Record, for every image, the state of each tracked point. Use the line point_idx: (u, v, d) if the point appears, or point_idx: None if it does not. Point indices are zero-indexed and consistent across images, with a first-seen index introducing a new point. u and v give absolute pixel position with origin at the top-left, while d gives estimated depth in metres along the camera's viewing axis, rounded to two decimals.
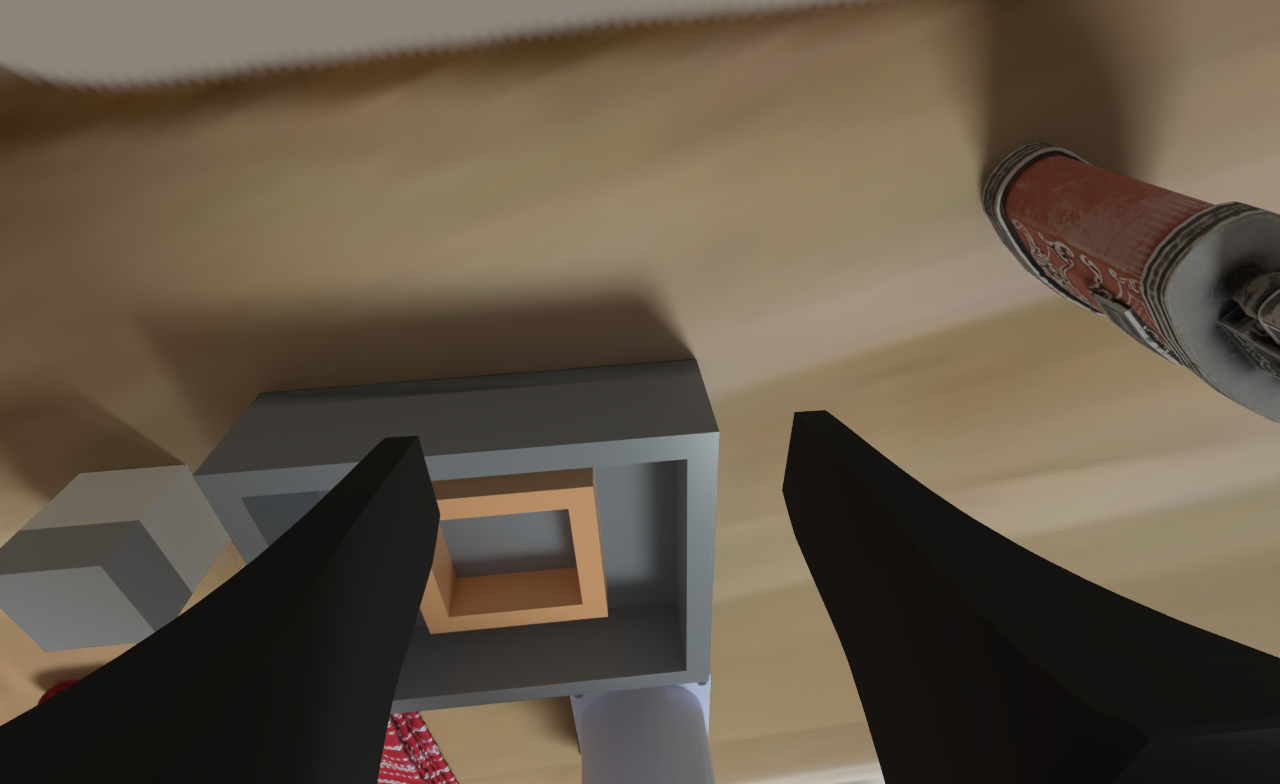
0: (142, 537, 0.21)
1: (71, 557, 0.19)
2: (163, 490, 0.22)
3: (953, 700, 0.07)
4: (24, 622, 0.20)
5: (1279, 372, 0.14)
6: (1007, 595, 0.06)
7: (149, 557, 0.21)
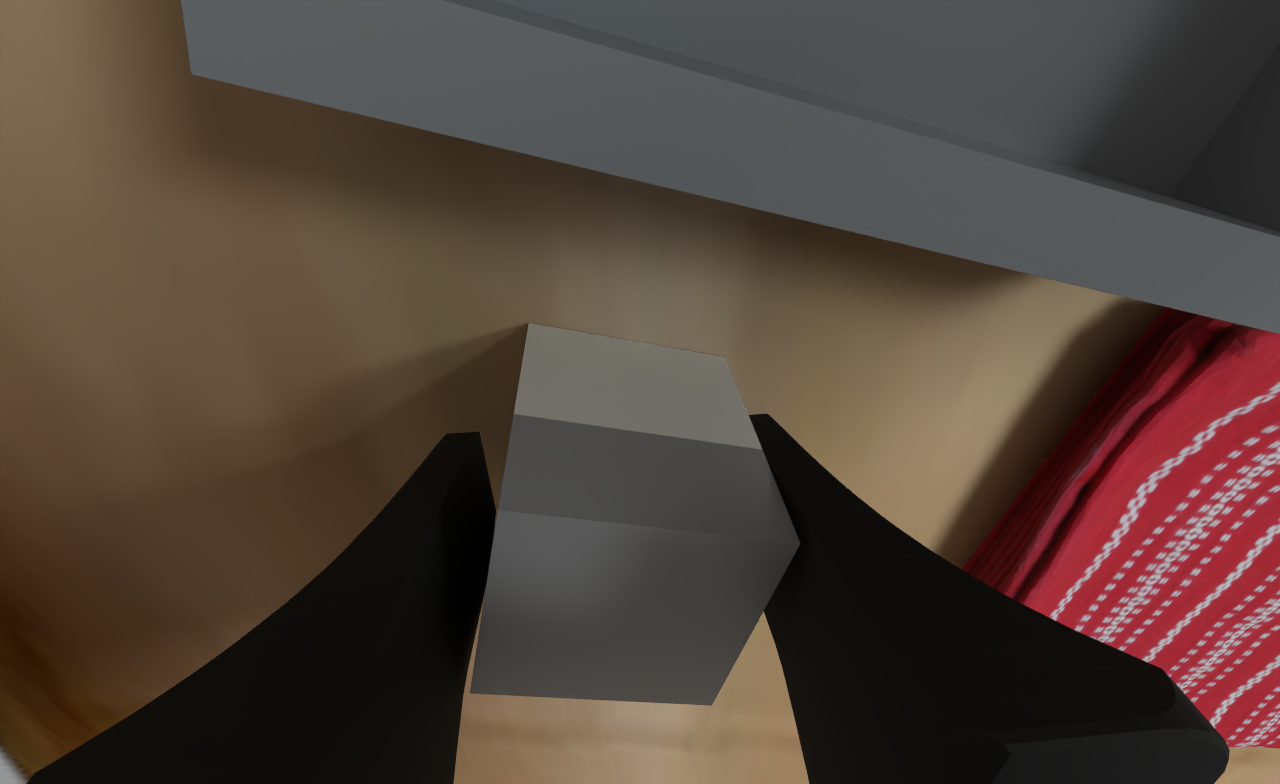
0: (550, 430, 0.09)
1: None
2: (522, 364, 0.10)
3: (858, 709, 0.07)
4: (621, 691, 0.10)
5: None
6: (909, 603, 0.06)
7: (603, 448, 0.09)
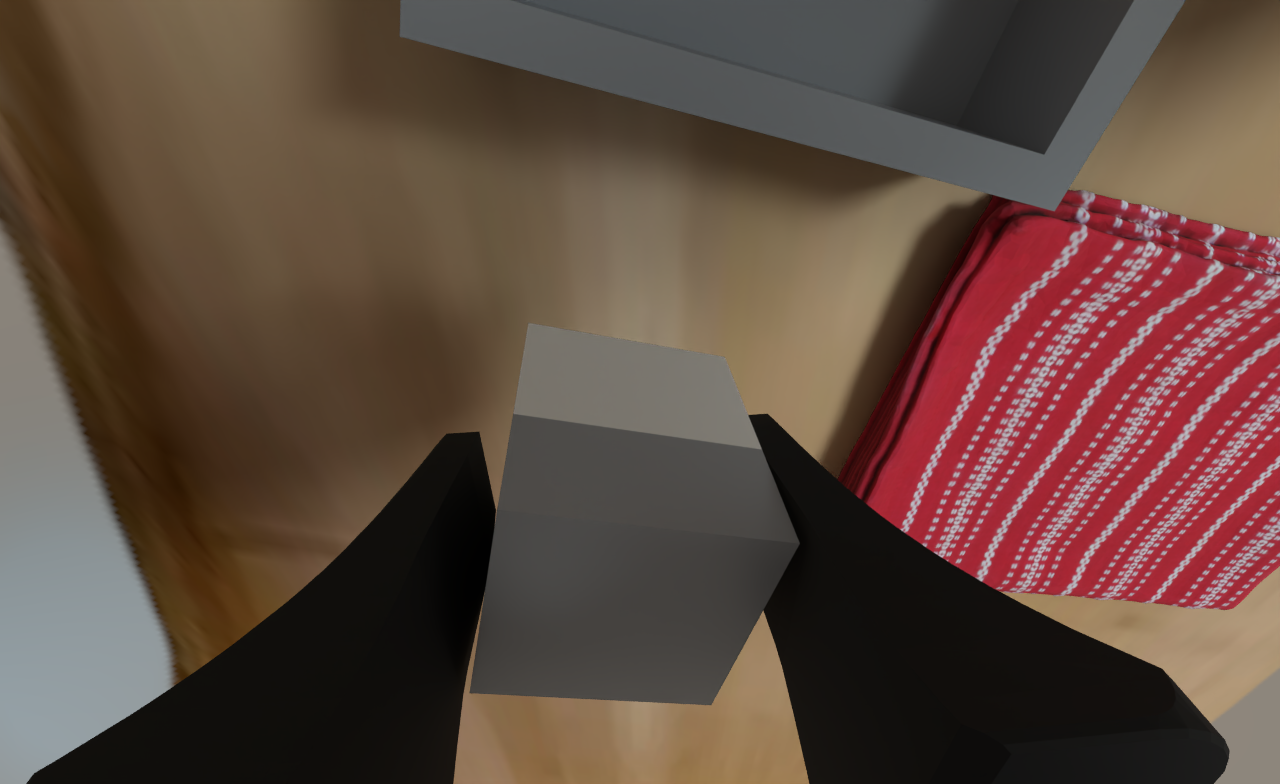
0: (550, 430, 0.09)
1: None
2: (522, 365, 0.10)
3: (858, 709, 0.07)
4: (620, 690, 0.10)
5: None
6: (910, 603, 0.06)
7: (603, 447, 0.09)
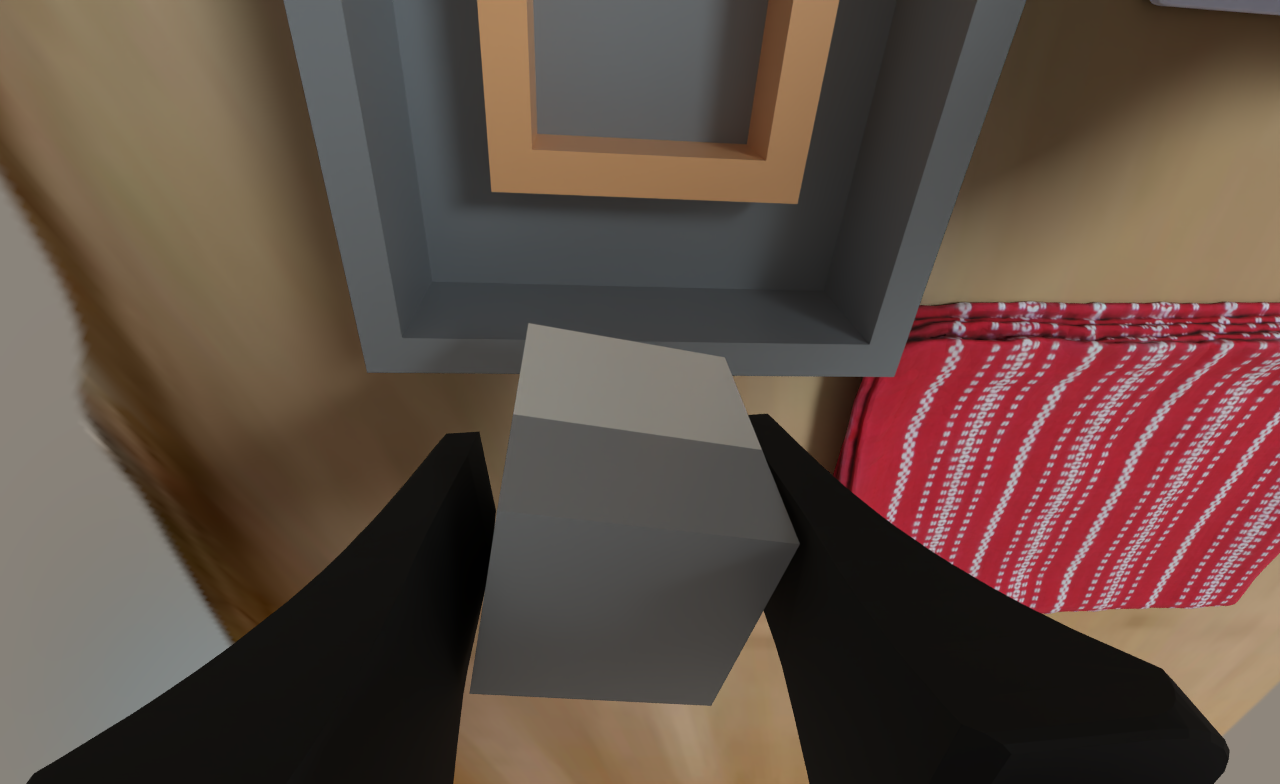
0: (549, 431, 0.09)
1: None
2: (522, 365, 0.10)
3: (858, 709, 0.07)
4: (620, 691, 0.10)
5: None
6: (910, 603, 0.06)
7: (602, 448, 0.09)
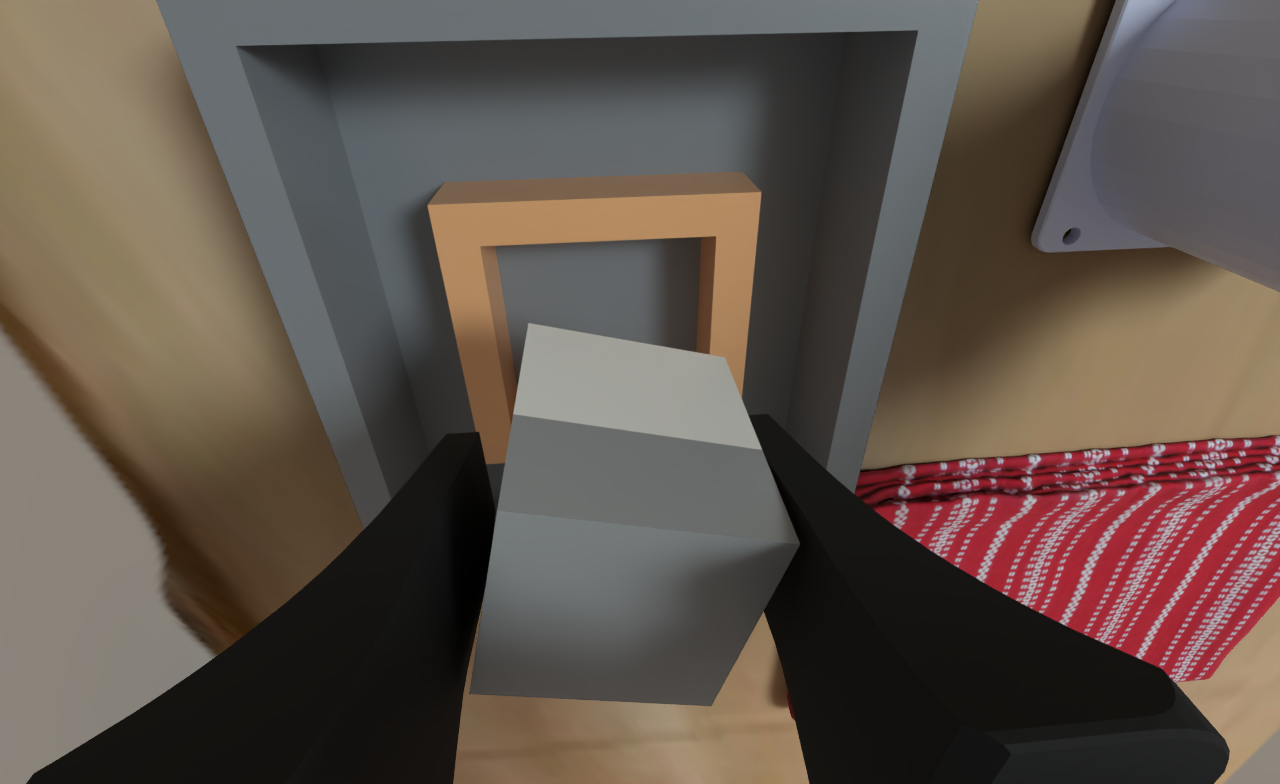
0: (550, 431, 0.09)
1: None
2: (522, 365, 0.10)
3: (858, 709, 0.07)
4: (620, 691, 0.10)
5: None
6: (909, 603, 0.06)
7: (603, 448, 0.09)
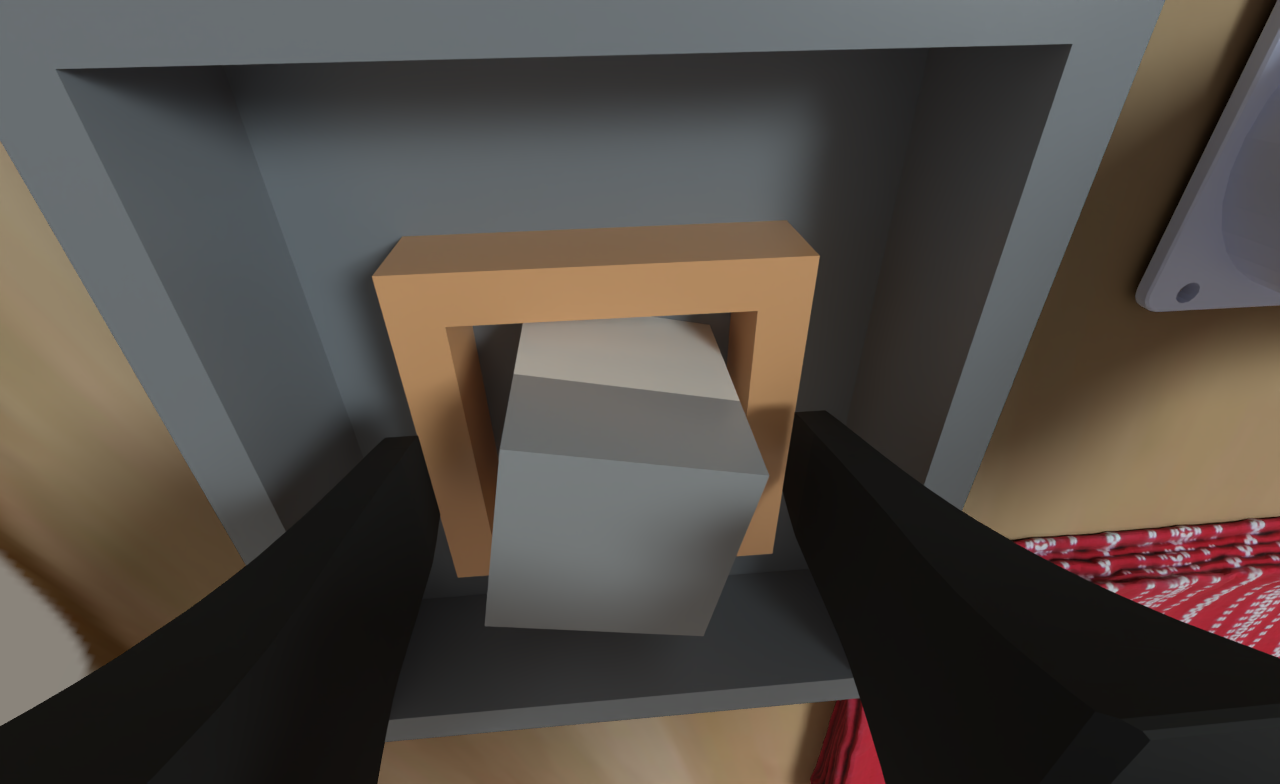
0: (546, 387, 0.10)
1: None
2: (521, 334, 0.11)
3: (953, 700, 0.07)
4: (619, 622, 0.11)
5: None
6: (1007, 595, 0.06)
7: (593, 400, 0.10)
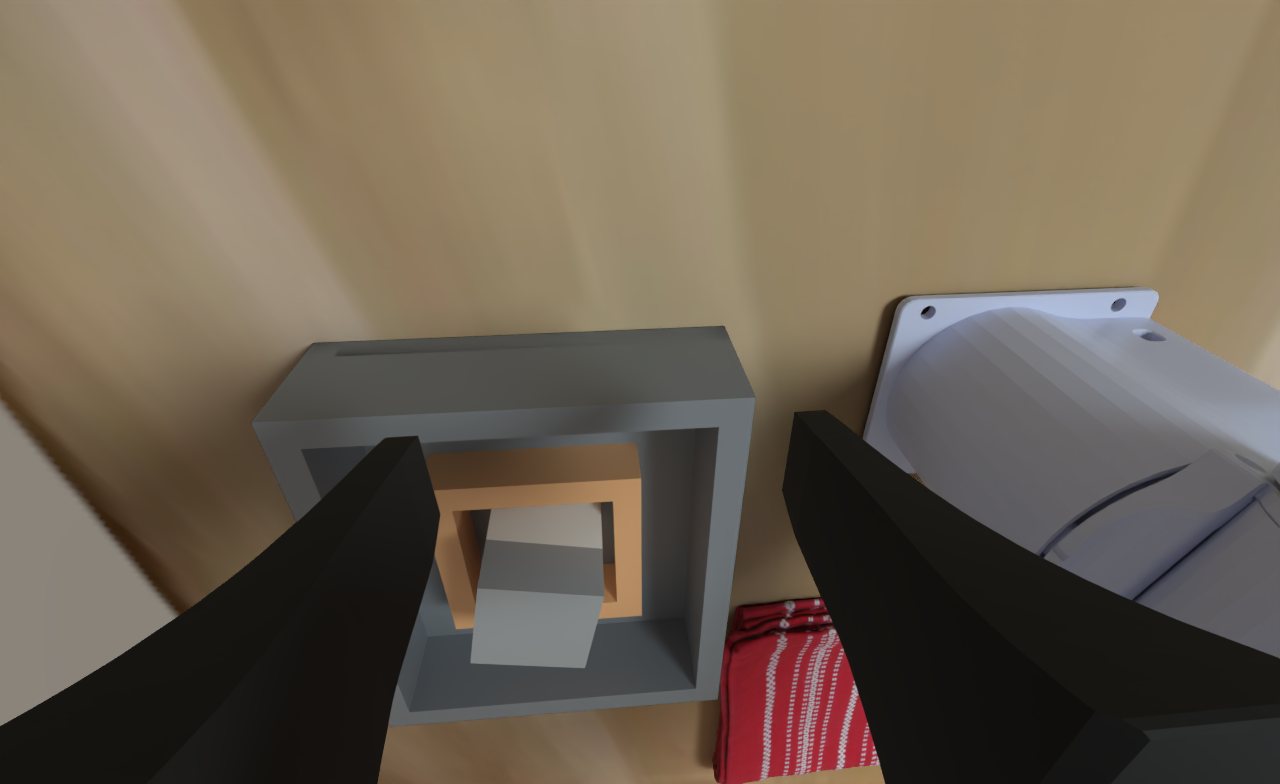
0: (501, 547, 0.20)
1: None
2: None
3: (953, 700, 0.07)
4: (540, 661, 0.21)
5: None
6: (1007, 594, 0.06)
7: (524, 554, 0.20)
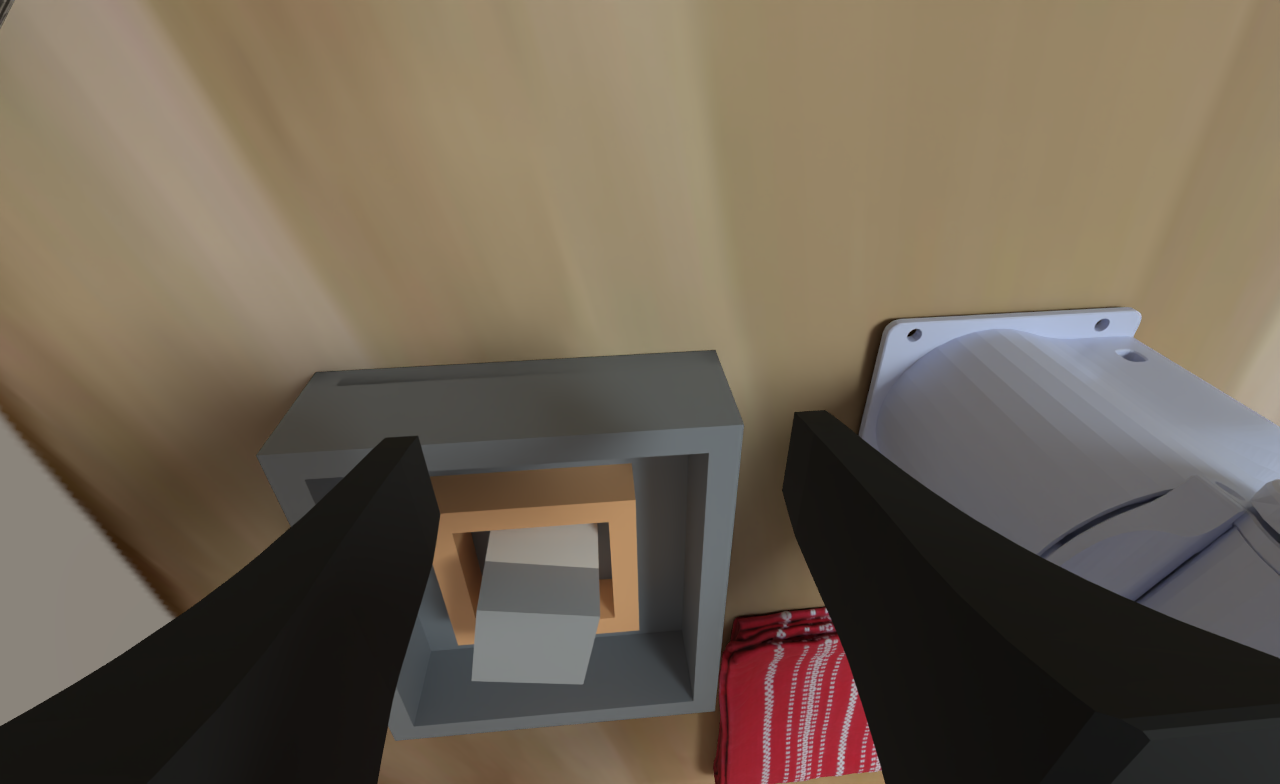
0: (500, 568, 0.20)
1: None
2: None
3: (953, 700, 0.07)
4: (539, 678, 0.21)
5: None
6: (1008, 595, 0.06)
7: (523, 575, 0.20)
